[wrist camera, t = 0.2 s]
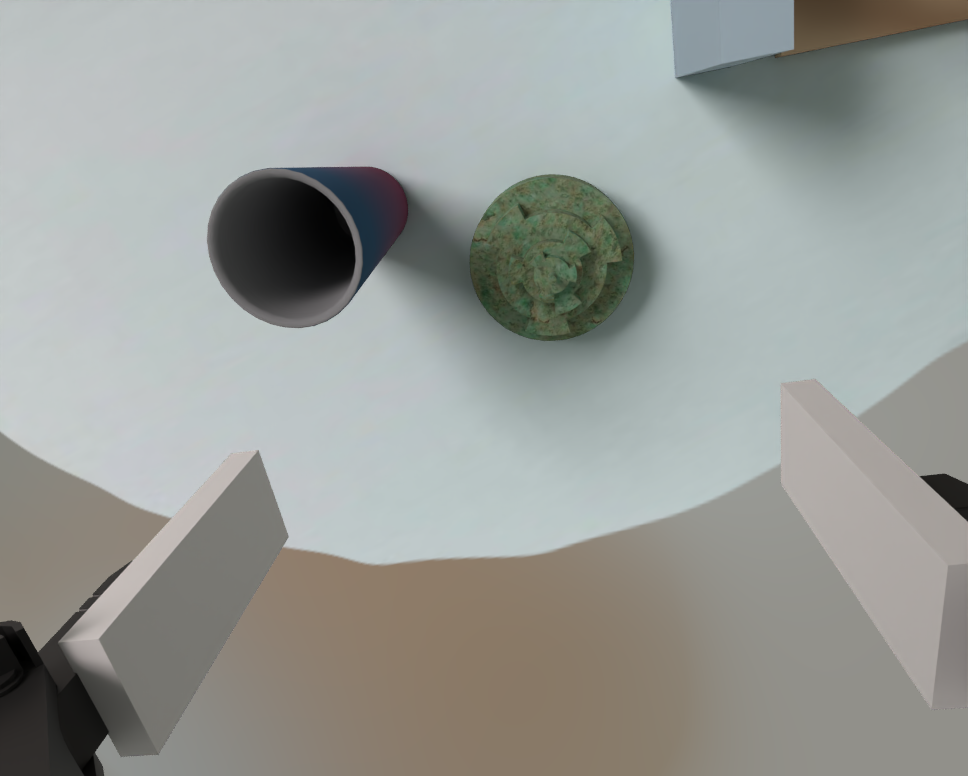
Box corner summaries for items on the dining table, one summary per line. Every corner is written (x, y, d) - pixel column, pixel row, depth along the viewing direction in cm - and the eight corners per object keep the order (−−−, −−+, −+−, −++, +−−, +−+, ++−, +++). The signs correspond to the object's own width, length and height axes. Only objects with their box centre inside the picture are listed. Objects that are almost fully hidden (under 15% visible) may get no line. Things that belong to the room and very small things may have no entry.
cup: (403, 138, 39) (330, 147, 25) (435, 246, 42) (384, 308, 28) (302, 168, 40) (179, 193, 27) (339, 271, 43) (244, 343, 29)
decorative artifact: (550, 138, 39) (442, 256, 42) (553, 142, 32) (425, 281, 36) (661, 253, 41) (549, 357, 44) (683, 278, 34) (551, 397, 38)
